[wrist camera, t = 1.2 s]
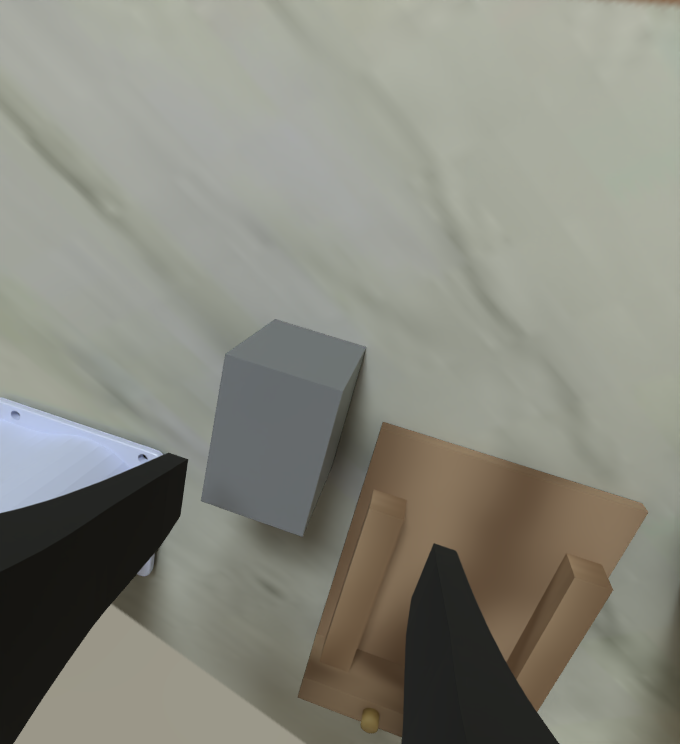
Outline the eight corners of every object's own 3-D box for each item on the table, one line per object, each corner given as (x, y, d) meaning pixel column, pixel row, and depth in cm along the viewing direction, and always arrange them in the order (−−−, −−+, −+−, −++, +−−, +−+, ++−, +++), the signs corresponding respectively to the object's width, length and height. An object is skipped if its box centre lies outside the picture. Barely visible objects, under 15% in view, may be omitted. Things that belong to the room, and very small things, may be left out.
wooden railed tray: (313, 643, 26) (293, 709, 22) (382, 421, 20) (371, 464, 17) (513, 717, 24) (525, 798, 21) (642, 503, 19) (684, 566, 16)
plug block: (250, 442, 22) (200, 505, 18) (275, 318, 20) (225, 354, 15) (331, 469, 22) (301, 541, 17) (366, 346, 19) (342, 391, 15)
